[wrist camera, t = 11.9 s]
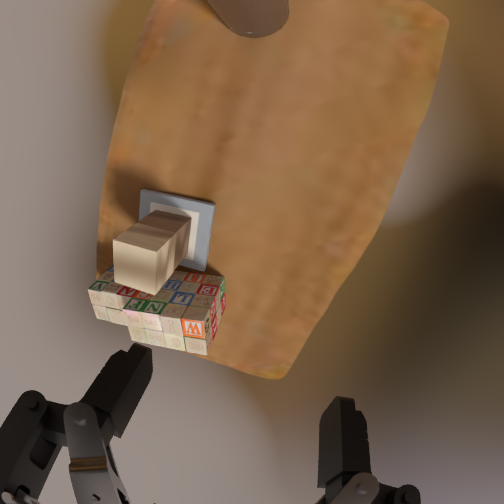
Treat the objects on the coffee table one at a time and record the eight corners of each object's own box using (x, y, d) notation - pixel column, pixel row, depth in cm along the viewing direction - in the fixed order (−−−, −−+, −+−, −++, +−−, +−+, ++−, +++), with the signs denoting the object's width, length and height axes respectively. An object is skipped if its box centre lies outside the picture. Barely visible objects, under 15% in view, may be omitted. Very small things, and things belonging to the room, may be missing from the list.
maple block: (136, 222, 36) (112, 239, 31) (176, 232, 36) (156, 252, 30) (136, 261, 39) (114, 281, 33) (173, 272, 38) (155, 295, 33)
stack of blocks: (121, 291, 51) (86, 328, 40) (114, 262, 49) (75, 297, 38) (226, 307, 49) (207, 356, 38) (225, 275, 46) (203, 322, 35)
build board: (143, 188, 42) (140, 190, 41) (215, 203, 41) (213, 206, 40) (140, 251, 46) (137, 253, 45) (206, 268, 46) (204, 272, 45)
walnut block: (155, 209, 42) (136, 222, 36) (191, 217, 41) (176, 232, 36) (153, 244, 44) (135, 261, 39) (187, 253, 44) (173, 271, 38)
